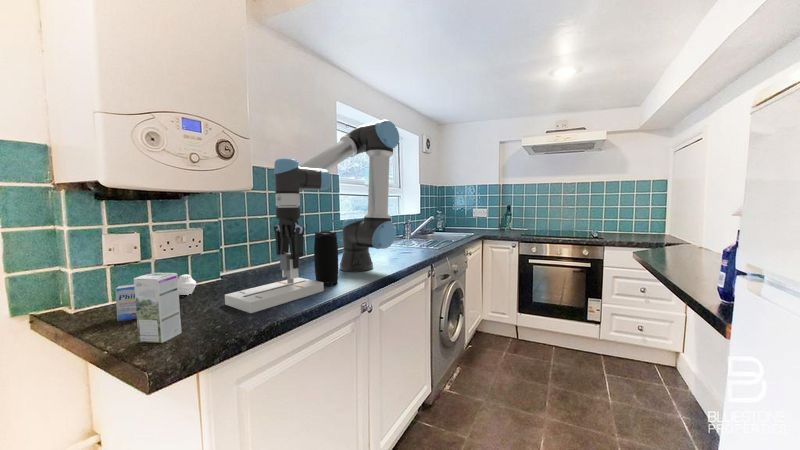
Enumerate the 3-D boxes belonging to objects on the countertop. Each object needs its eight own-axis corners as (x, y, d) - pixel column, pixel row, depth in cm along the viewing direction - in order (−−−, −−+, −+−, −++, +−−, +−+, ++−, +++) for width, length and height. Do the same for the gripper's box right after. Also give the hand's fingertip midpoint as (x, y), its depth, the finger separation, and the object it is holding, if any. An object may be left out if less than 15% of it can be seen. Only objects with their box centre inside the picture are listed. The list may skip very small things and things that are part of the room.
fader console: (297, 285, 115) (297, 276, 114) (323, 290, 107) (323, 281, 106) (225, 304, 93) (224, 294, 93) (250, 313, 85) (250, 302, 85)
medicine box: (117, 322, 80) (114, 289, 79) (120, 316, 84) (118, 285, 83) (155, 315, 84) (153, 284, 84) (157, 311, 88) (155, 280, 87)
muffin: (197, 295, 103) (196, 274, 103) (174, 298, 100) (173, 277, 99) (196, 290, 108) (194, 271, 108) (174, 294, 105) (173, 273, 104)
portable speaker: (315, 288, 110) (313, 233, 109) (315, 281, 119) (313, 231, 118) (339, 286, 112) (338, 232, 111) (338, 280, 121) (336, 230, 120)
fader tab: (293, 280, 107) (292, 252, 106) (300, 282, 105) (299, 252, 104) (280, 283, 103) (279, 254, 102) (287, 285, 101) (286, 255, 100)
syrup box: (182, 333, 73) (179, 271, 72) (161, 344, 67) (156, 277, 66) (160, 332, 73) (156, 271, 72) (136, 343, 67) (132, 277, 66)
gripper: (262, 207, 104) (265, 276, 105) (294, 207, 94) (296, 283, 96) (282, 206, 110) (284, 272, 111) (313, 206, 100) (315, 278, 102)
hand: (290, 277), depth 104 cm, fingers closed on fader tab, 3 cm apart
